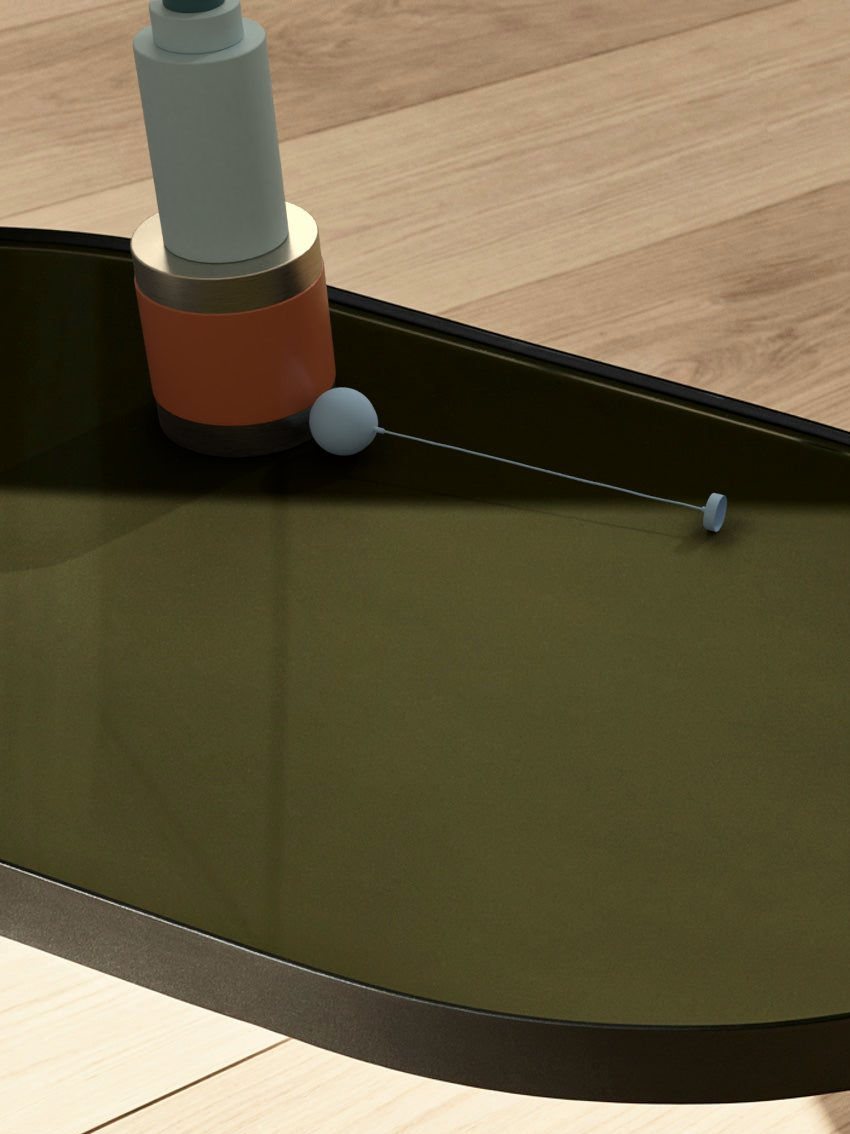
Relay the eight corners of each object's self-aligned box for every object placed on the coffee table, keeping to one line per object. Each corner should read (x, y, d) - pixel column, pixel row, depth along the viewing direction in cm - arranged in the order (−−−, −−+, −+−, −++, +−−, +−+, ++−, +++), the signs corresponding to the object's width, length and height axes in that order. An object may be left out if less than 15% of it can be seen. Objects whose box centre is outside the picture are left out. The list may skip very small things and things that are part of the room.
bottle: (142, 228, 104) (97, -53, 96) (254, 197, 106) (219, -80, 98) (195, 275, 101) (153, -12, 92) (310, 242, 103) (278, -41, 95)
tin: (128, 400, 110) (97, 224, 105) (289, 350, 114) (267, 178, 108) (205, 478, 105) (177, 297, 99) (371, 423, 108) (353, 245, 103)
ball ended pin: (703, 553, 100) (715, 484, 99) (293, 451, 105) (301, 384, 104) (724, 542, 103) (737, 474, 102) (324, 443, 108) (332, 378, 107)
